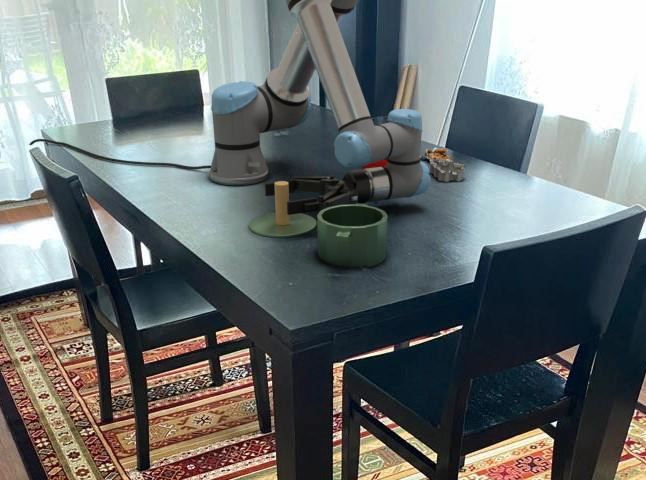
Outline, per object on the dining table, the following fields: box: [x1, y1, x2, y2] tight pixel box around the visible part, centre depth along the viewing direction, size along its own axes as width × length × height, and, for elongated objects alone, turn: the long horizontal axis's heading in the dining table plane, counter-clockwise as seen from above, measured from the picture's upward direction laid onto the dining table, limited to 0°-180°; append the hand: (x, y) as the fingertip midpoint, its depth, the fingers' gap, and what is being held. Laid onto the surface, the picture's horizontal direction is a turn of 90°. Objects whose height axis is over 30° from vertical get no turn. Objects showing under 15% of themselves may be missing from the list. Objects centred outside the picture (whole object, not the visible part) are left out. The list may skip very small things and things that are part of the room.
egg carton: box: [429, 159, 467, 183], centre depth 200 cm, size 11×8×4 cm
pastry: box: [420, 147, 452, 161], centre depth 212 cm, size 7×12×4 cm, turn 24°
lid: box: [248, 180, 317, 239], centre depth 165 cm, size 15×15×10 cm
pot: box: [316, 203, 389, 269], centre depth 152 cm, size 14×19×8 cm
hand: (276, 198), depth 164 cm, fingers open, 13 cm apart
